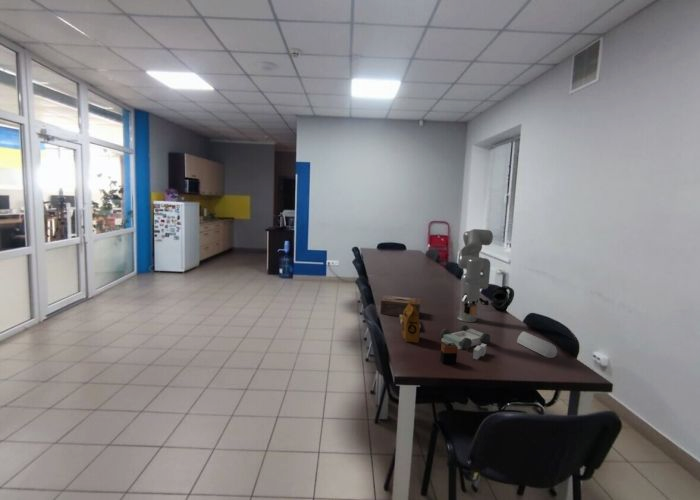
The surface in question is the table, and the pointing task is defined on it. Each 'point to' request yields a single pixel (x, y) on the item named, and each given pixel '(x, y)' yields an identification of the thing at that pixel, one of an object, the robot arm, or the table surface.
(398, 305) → the tissue box cover
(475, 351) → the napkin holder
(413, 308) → the coffee package
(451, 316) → the table surface
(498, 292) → the headset
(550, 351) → the crystal
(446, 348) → the battery
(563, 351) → the table surface
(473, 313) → the box with black knob
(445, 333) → the chassis
